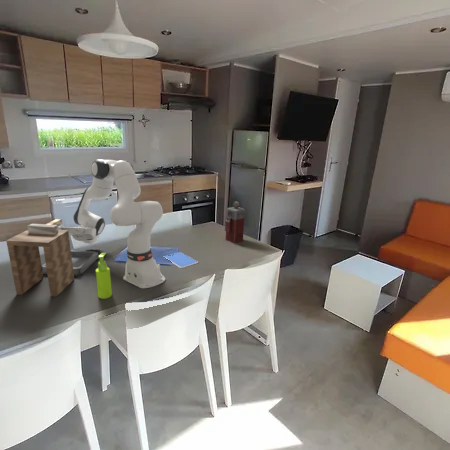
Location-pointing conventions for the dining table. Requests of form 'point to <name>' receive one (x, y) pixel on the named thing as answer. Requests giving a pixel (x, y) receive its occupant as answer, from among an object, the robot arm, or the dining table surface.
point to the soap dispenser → (103, 278)
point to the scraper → (45, 227)
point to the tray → (79, 261)
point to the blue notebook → (181, 260)
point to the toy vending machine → (235, 223)
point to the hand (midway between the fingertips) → (68, 228)
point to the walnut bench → (31, 263)
